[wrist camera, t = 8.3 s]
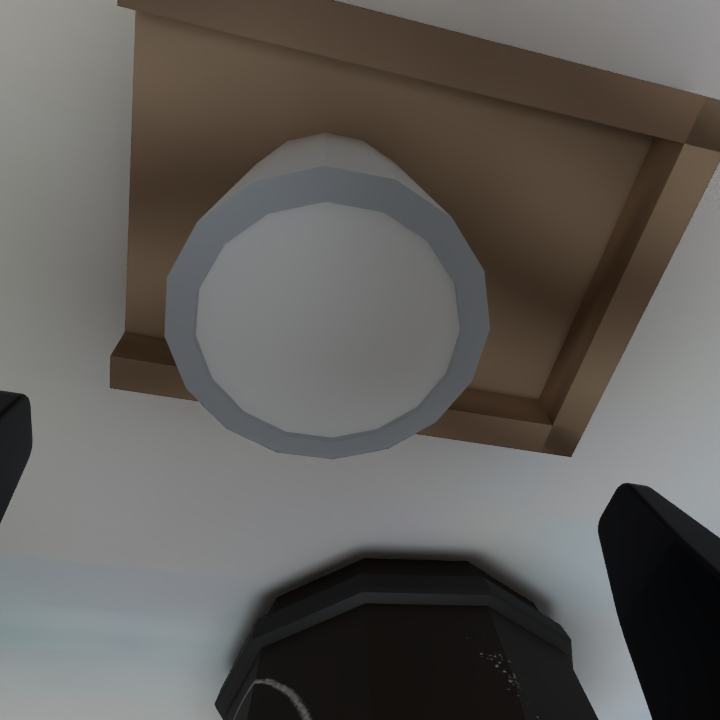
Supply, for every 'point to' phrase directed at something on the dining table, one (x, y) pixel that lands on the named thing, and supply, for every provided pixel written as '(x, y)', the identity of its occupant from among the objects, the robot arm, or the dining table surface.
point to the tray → (426, 182)
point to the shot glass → (326, 303)
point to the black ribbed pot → (404, 651)
